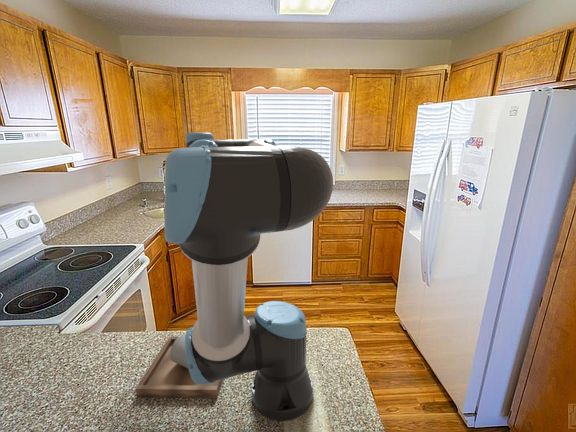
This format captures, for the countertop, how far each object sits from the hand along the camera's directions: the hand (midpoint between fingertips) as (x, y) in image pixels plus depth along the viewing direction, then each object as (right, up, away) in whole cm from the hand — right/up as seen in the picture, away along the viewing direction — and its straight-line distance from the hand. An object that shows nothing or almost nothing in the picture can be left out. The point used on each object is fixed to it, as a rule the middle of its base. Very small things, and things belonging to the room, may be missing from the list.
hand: (209, 257), depth 90 cm
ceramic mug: (-3, -28, -7) cm, 29 cm away
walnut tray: (-3, -29, -8) cm, 31 cm away
